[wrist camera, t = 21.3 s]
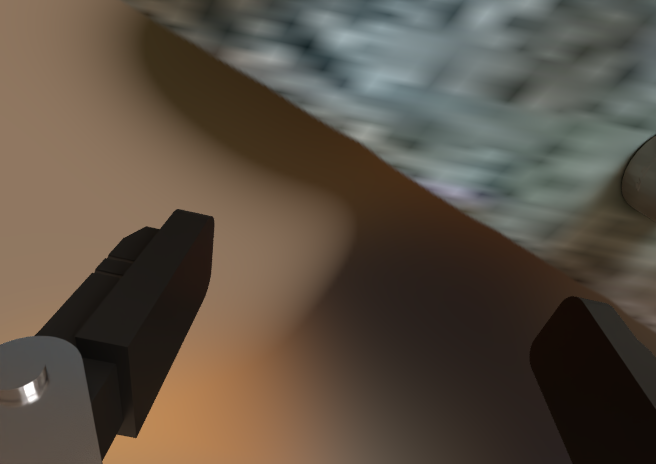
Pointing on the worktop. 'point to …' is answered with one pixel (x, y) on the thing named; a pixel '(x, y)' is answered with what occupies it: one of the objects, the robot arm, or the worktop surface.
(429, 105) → the worktop surface
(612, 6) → the worktop surface
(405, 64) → the worktop surface
